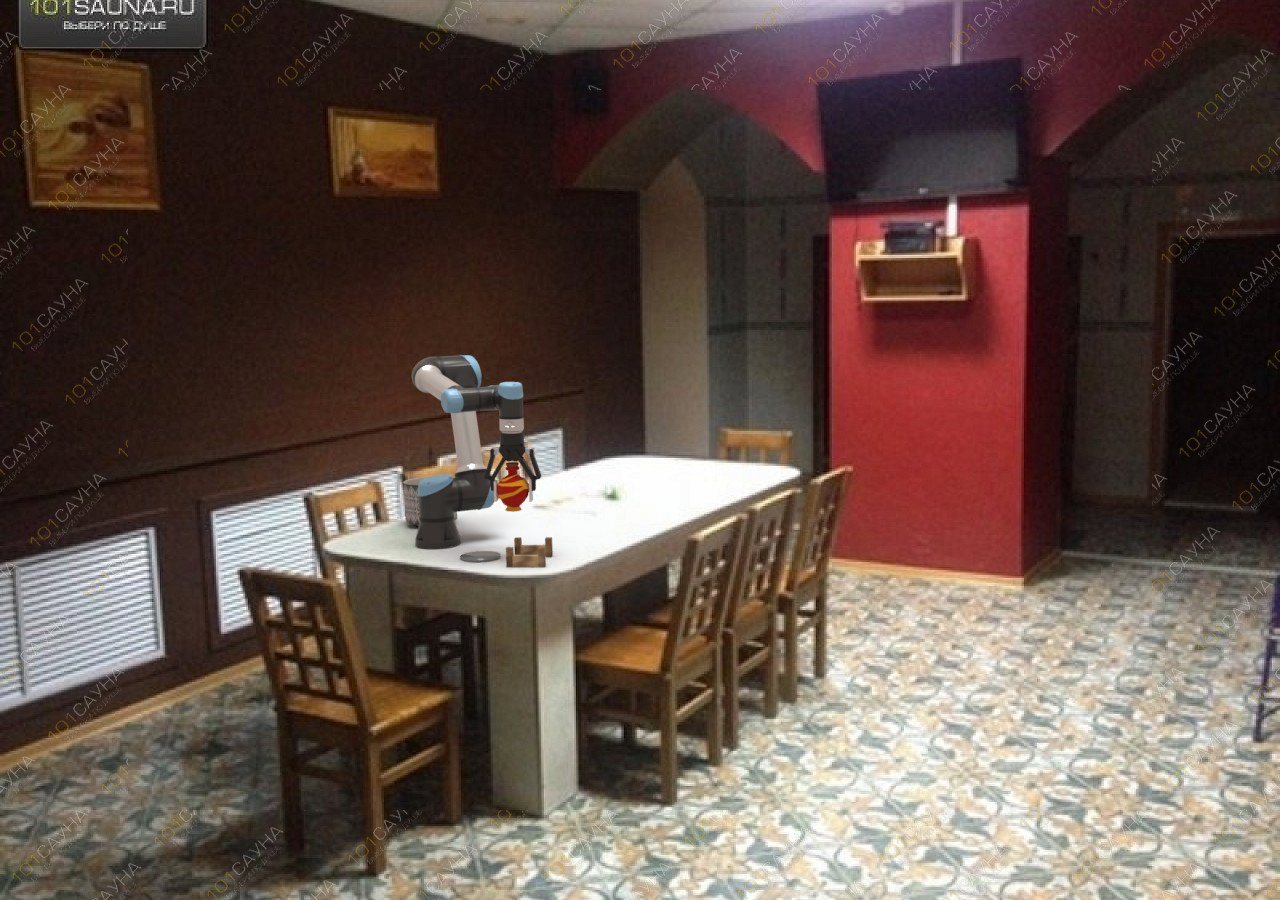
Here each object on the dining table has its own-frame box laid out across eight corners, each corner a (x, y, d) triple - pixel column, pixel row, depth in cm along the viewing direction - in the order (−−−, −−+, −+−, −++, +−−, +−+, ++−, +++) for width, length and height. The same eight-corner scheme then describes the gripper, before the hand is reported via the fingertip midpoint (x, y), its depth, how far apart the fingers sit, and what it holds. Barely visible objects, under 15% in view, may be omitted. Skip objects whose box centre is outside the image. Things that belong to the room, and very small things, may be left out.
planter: (458, 528, 423) (456, 483, 421) (404, 531, 420) (402, 486, 418) (457, 518, 442) (456, 475, 440) (406, 521, 439) (404, 477, 437)
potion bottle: (513, 514, 362) (511, 467, 360) (490, 510, 369) (489, 463, 366) (537, 509, 370) (536, 462, 368) (514, 505, 377) (513, 459, 374)
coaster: (455, 562, 370) (455, 560, 370) (465, 553, 382) (465, 550, 382) (496, 562, 369) (496, 559, 368) (504, 553, 381) (504, 550, 381)
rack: (506, 567, 362) (505, 548, 361) (515, 555, 378) (515, 537, 377) (544, 567, 361) (544, 548, 360) (552, 555, 377) (552, 537, 376)
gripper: (473, 433, 362) (475, 503, 366) (546, 433, 361) (548, 503, 365) (477, 430, 370) (479, 498, 373) (549, 429, 369) (551, 498, 372)
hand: (513, 500), depth 369 cm, fingers closed on potion bottle, 10 cm apart
